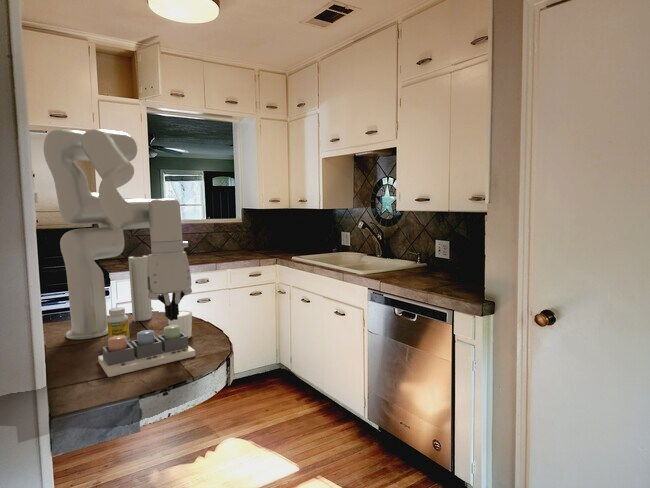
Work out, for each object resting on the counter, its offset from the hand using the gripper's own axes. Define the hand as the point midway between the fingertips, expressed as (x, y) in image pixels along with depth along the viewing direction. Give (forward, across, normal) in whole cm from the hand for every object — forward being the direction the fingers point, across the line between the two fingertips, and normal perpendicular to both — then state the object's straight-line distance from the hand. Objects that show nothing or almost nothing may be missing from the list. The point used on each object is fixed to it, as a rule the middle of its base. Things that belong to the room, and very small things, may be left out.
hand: (172, 318), depth 110 cm
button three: (+6, 0, 0) cm, 6 cm away
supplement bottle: (+9, +9, -19) cm, 23 cm away
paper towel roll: (+9, -2, -40) cm, 41 cm away
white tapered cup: (+9, -6, -12) cm, 16 cm away
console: (+9, +7, 0) cm, 11 cm away
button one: (+6, +13, 0) cm, 14 cm away
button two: (+6, +7, 0) cm, 9 cm away
